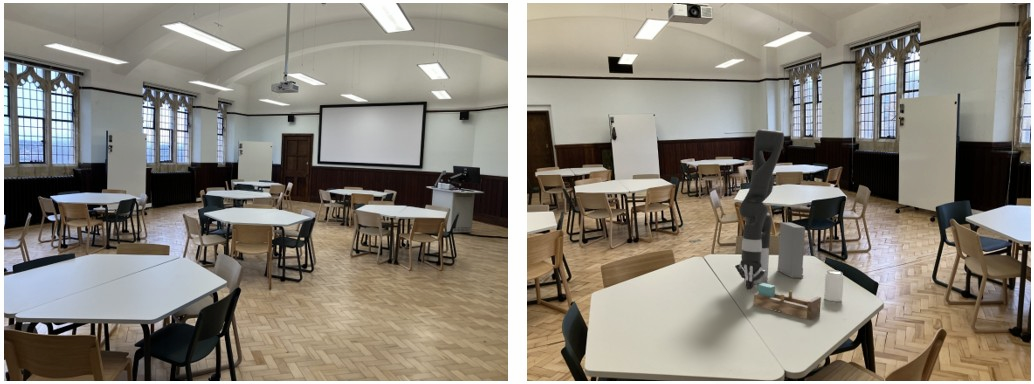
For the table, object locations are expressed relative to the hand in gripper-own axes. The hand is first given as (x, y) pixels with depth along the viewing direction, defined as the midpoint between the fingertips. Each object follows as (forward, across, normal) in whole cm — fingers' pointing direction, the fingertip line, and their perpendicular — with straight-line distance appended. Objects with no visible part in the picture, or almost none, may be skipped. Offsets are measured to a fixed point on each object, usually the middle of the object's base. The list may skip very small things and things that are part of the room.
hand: (749, 289), depth 219 cm
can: (+5, +22, +28) cm, 36 cm away
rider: (+2, +7, 0) cm, 7 cm away
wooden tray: (+5, +15, 0) cm, 16 cm away
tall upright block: (+5, -7, +54) cm, 55 cm away
